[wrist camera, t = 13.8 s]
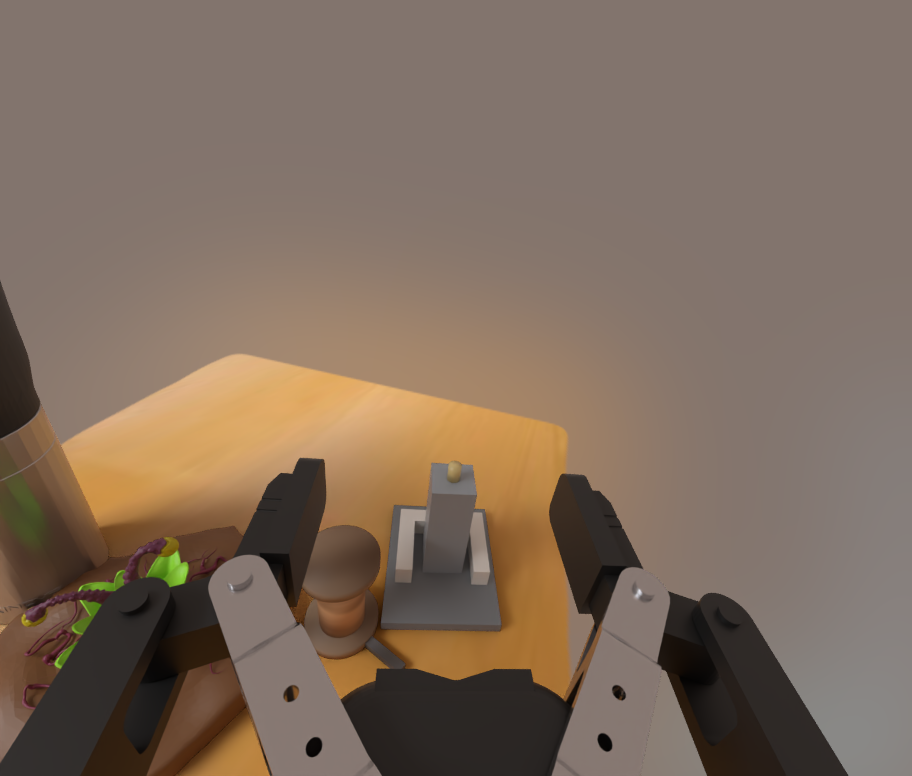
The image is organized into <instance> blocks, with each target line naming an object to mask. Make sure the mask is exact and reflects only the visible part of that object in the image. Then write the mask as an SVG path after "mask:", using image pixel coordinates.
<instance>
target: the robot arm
mask: <svg viewBox="0 0 912 776" xmlns="http://www.w3.org/2000/svg"><path fill="white" fill-rule="evenodd" d="M325 503H326V479H325V463H324V459H312V458H299V460H298V462H297V464H296V466H295V469H294V471H293V474H289V473H280V474H279V475H278V476H277V477H276V478H275V479H274V480H273V481H271V482H270V483H269V484H268V486H267V488H266V490H265V492H264V494H263V496H262V500H261V501H260V503H259V505H258V507H257V510H256V512H255V513H254V515H253V518H252V520H251V522H250V524H249V526H248V528H247V530H246V532H245V534H244V536H243V539H242V541H241V543H240V545H239V547H238V549H237V551H236V553H235V555H234V557H233V558H232V559H231V560H229V561H227V562H225V563H224V564H222V565H221V566H220V567H219V568H218V569H217V570H216V571H215V572H214V574H213V575H211V576H208V577H206V578H203V579H200V580H196V581H192V582H188V583H184V584H180V585H176V586H172V587H169V585H168V584H167V582H166V581H164V580H163V579H160V578H157V577H145V578H140V579H137V580H134V581H131V582H129V583H127V584H125V585H123V586H121V587H120V588H118V589H117V590H116V591H114V592H113V593H112V594H111V595H110V596H109V597H108V598H107V599H106V600H105V601H104V602H103V604H102V605H101V607H100V608H99V610H98V611H97V613H96V614H95V616H94V618H93V619H92V621H91V622H90V624H89V625H88V627H87V628H86V630H85V632H84V633H83V635H82V636H81V638H80V639H79V641H78V643H77V644H76V646H75V647H74V649H73V650H72V652H71V653H70V655H69V657H68V658H67V660H66V661H65V663H64V664H63V666H62V667H61V669H60V671H59V672H58V674H57V675H56V677H55V678H54V680H53V681H52V683H51V685H50V686H49V688H48V689H47V691H46V692H45V694H44V695H43V697H42V699H41V700H40V702H39V703H38V705H37V706H36V708H35V710H34V711H33V713H32V714H31V716H30V717H29V719H28V720H27V722H26V724H25V725H24V727H23V728H22V730H21V731H20V733H19V734H18V736H17V738H16V739H15V741H14V742H13V744H12V745H11V747H10V748H9V750H8V752H7V753H6V755H5V756H4V758H3V759H2V761H1V762H0V776H147V773H148V771H149V768H150V766H151V763H152V761H153V758H154V756H155V753H156V751H157V748H158V746H159V743H160V741H161V738H162V736H163V733H164V731H165V728H166V726H167V723H168V721H169V718H170V716H171V713H172V711H173V708H174V706H175V703H176V701H177V698H178V696H179V693H180V691H181V688H182V686H183V683H184V681H185V678H186V676H187V673H188V671H189V670H192V669H195V668H198V667H201V666H204V665H207V664H210V663H213V662H216V661H220V660H223V659H226V658H230V660H231V663H232V666H233V669H234V672H235V675H236V678H237V681H238V684H239V687H240V690H241V692H242V695H243V698H244V701H245V704H246V707H247V710H248V713H249V716H250V719H251V722H252V725H253V728H254V731H255V734H256V737H257V740H258V743H259V746H260V749H261V752H262V754H263V757H264V760H265V763H266V766H267V769H268V772H269V775H270V776H640V774H641V770H642V765H643V760H644V755H645V750H646V745H647V740H648V736H649V731H650V726H651V721H652V715H653V711H654V706H655V702H656V697H657V692H658V687H659V682H660V677H661V669H662V670H665V671H666V672H667V674H668V677H669V679H670V682H671V684H672V687H673V690H674V692H675V695H676V697H677V700H678V702H679V705H680V708H681V710H682V713H683V715H684V717H685V720H686V723H687V725H688V728H689V731H690V733H691V735H692V738H693V741H694V743H695V746H696V748H697V751H698V754H699V756H700V759H701V761H702V764H703V766H704V769H705V771H706V774H707V776H848V774H847V773H846V771H845V769H844V768H843V766H842V764H841V763H840V761H839V760H838V758H837V756H836V755H835V753H834V751H833V750H832V748H831V747H830V745H829V743H828V742H827V740H826V739H825V737H824V735H823V734H822V732H821V730H820V729H819V727H818V726H817V724H816V722H815V721H814V719H813V717H812V716H811V714H810V713H809V711H808V709H807V708H806V706H805V704H804V703H803V701H802V700H801V698H800V696H799V695H798V693H797V691H796V690H795V688H794V686H793V685H792V683H791V682H790V680H789V678H788V677H787V675H786V674H785V672H784V670H783V669H782V667H781V665H780V664H779V662H778V661H777V659H776V658H775V656H774V654H773V652H772V651H771V649H770V648H769V646H768V644H767V643H766V641H765V639H764V638H763V636H762V635H761V633H760V631H759V630H758V628H757V626H756V625H755V623H754V622H753V620H752V618H751V617H750V616H749V614H748V613H747V612H746V611H745V610H744V609H743V608H742V607H741V606H740V605H739V604H738V603H736V602H735V601H733V600H732V599H730V598H728V597H726V596H724V595H721V594H717V593H708V594H706V595H704V596H703V597H702V598H701V599H700V601H699V602H698V601H695V600H692V599H689V598H686V597H683V596H680V595H677V594H674V593H671V592H669V591H667V589H666V587H665V586H664V584H663V583H662V582H661V581H660V580H659V579H658V578H657V577H656V576H654V575H653V574H652V573H650V572H648V571H646V570H644V569H643V568H642V566H641V563H640V561H639V560H638V557H637V555H636V553H635V551H634V549H633V548H632V545H631V543H630V541H629V539H628V538H627V535H626V533H625V531H624V529H622V525H621V523H620V521H619V519H618V518H617V515H616V513H615V511H614V509H613V507H612V505H611V503H610V502H609V501H608V500H607V499H606V498H605V497H604V496H603V495H602V494H601V492H600V491H592V489H591V487H590V484H589V482H588V480H587V478H586V477H585V476H584V475H575V474H561V476H560V478H559V480H558V483H557V486H556V489H555V492H554V495H553V498H552V501H551V504H550V510H549V516H550V523H551V526H552V529H553V532H554V536H555V539H556V542H557V545H558V548H559V552H560V555H561V558H562V561H563V564H564V568H565V571H566V574H567V577H568V580H569V584H570V587H571V590H572V593H573V596H574V600H575V603H576V606H577V609H578V612H579V614H592V616H593V619H594V622H595V623H594V625H593V627H592V629H591V631H590V634H589V637H588V639H587V642H586V644H585V647H584V649H583V652H582V655H581V657H580V660H579V662H578V665H577V668H576V670H575V673H574V675H573V678H572V680H571V683H570V685H569V687H568V689H567V691H566V694H565V696H564V698H563V699H562V698H561V697H560V696H558V695H557V694H556V693H554V692H553V691H551V690H549V689H548V688H546V687H544V686H542V685H539V684H537V683H534V682H533V678H532V673H531V669H493V670H490V671H487V672H484V673H480V674H477V675H474V676H471V677H467V678H464V679H461V680H451V679H448V678H444V677H441V676H438V675H434V674H431V673H428V672H425V671H421V670H418V669H377V673H376V681H374V682H371V683H367V684H365V685H363V686H361V687H359V688H357V689H355V690H353V691H352V692H350V693H349V694H347V695H346V696H345V697H343V698H342V699H341V700H340V698H339V696H338V694H337V692H336V690H335V688H334V686H333V684H332V682H331V680H330V678H329V676H328V674H327V672H326V670H325V668H324V666H323V664H322V662H321V660H320V658H319V656H318V654H317V652H316V650H315V648H314V646H313V644H312V642H311V640H310V638H309V636H308V634H307V632H306V630H305V629H304V627H303V626H302V624H301V623H297V622H296V620H295V618H294V616H293V614H292V612H291V610H290V608H289V607H296V606H297V603H298V599H299V596H300V592H301V589H302V585H303V582H304V579H305V575H306V572H307V568H308V565H309V561H310V558H311V554H312V551H313V548H314V544H315V541H316V537H317V534H318V530H319V527H320V523H321V520H322V516H323V513H324V509H325ZM108 553H109V550H108V547H107V544H106V542H105V540H104V538H103V535H102V533H101V531H100V529H99V527H98V525H97V522H96V520H95V518H94V515H93V513H92V511H91V509H90V507H89V505H88V503H87V500H86V498H85V496H84V494H83V492H82V490H81V488H80V485H79V483H78V481H77V479H76V477H75V475H74V473H73V470H72V468H71V466H70V464H69V462H68V460H67V458H66V455H65V453H64V451H63V449H62V447H61V445H60V442H59V440H58V438H57V436H56V434H55V432H54V430H53V428H52V426H51V424H50V422H49V420H48V417H47V415H46V413H45V411H44V409H43V407H42V404H41V403H40V400H39V398H38V395H37V393H36V391H35V388H34V385H33V380H32V374H31V368H30V363H29V359H28V355H27V352H26V349H25V346H24V344H23V341H22V338H21V336H20V334H19V331H18V329H17V326H16V324H15V321H14V319H13V315H12V313H11V310H10V308H9V305H8V302H7V299H6V296H5V293H4V290H3V288H2V285H1V282H0V624H9V623H10V622H11V621H12V620H13V619H14V618H15V617H16V616H17V615H19V614H21V613H24V612H26V611H27V610H28V609H30V608H31V607H34V606H37V605H39V604H40V603H44V602H46V601H47V600H48V599H50V598H51V597H52V596H53V595H54V594H55V593H56V592H58V591H59V590H61V589H62V588H63V587H65V586H66V585H68V584H70V583H71V582H73V581H74V580H75V579H77V578H78V577H79V576H81V575H82V574H83V573H85V572H88V571H91V570H93V569H96V568H98V567H99V566H101V565H102V564H103V563H105V562H106V561H107V560H108Z"/></svg>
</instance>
